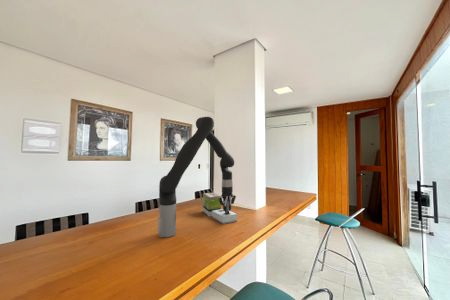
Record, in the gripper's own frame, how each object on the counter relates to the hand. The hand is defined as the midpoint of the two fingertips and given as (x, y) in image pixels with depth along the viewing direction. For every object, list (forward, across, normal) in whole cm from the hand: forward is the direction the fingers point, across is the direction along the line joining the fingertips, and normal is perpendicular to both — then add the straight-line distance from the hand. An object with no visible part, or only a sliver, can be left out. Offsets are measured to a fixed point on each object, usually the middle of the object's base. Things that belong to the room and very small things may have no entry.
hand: (227, 210), depth 129 cm
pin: (+2, 0, 0) cm, 2 cm away
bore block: (+7, 0, +4) cm, 8 cm away
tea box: (+7, -1, +22) cm, 23 cm away
